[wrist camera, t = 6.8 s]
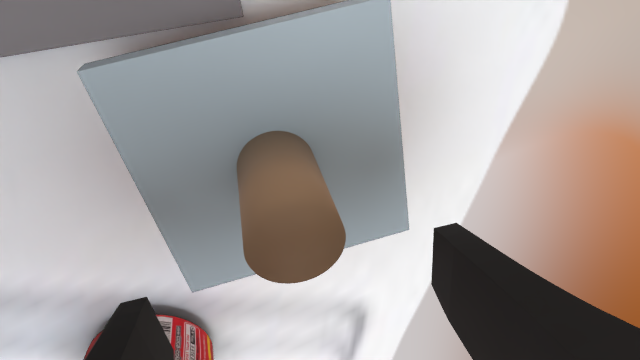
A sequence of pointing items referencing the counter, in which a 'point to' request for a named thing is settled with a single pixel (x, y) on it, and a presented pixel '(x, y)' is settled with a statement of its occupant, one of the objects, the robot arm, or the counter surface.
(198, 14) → the mat
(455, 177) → the counter surface
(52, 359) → the counter surface
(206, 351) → the soda can
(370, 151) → the lid
